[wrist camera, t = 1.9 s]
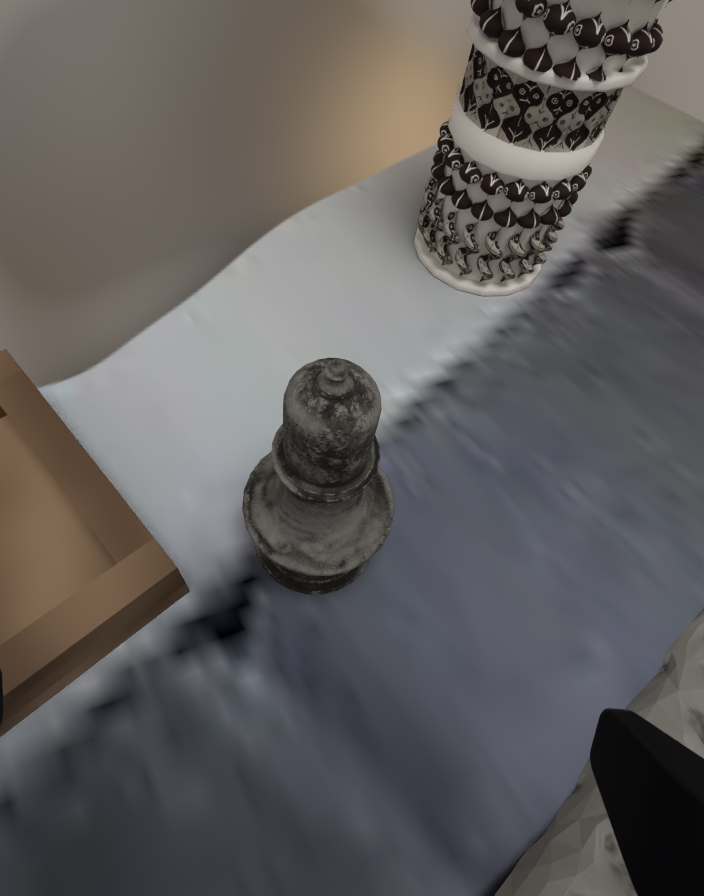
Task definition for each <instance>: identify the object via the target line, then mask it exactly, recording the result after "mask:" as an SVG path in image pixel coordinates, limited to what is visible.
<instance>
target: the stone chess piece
mask: <svg viewBox="0 0 704 896" xmlns="http://www.w3.org/2000/svg"><path fill="white" fill-rule="evenodd" d="M380 414H381V397H380V392H379V389H378V387H377V384H376V382H375V381H374V380H373V378H372V377H371V376H370V375H369V374H368V373H367V372H366V371H365V370H364V369H362V368H361V367H360V366H358V365H356V364H354V363H352V362H350V361H347V360H344V359H340V358H325V359H319V360H317V361H314V362H312V363H309V364H307V365H305V366H303V367H302V368H301V369H299V370H298V371H297V372H296V373H295V374H294V375H293V377H292V378H291V379H290V381H289V384H288V386H287V389H286V391H285V394H284V402H283V424H282V425H281V427H280V428H279V429H278V431H277V432H276V435H275V437H274V440H273V443H272V452H270V453H269V454H268V455H266V456H265V457H264V458H263V459H261V461H260V462H259V463H258V465H257V466H256V467H255V469H254V470H253V471H252V473H251V474H250V477H249V479H248V482H247V484H246V487H245V489H244V498H243V514H244V518H245V523H246V528H247V530H248V532H249V534H250V536H251V537H252V539H253V541H254V543H255V545H256V549H257V554H258V557H259V559H260V561H261V563H262V565H263V567H264V569H265V570H266V571H267V572H268V573H269V574H270V575H271V576H272V577H273V578H274V580H275V581H277V582H278V583H280V584H282V585H283V586H285V587H287V588H288V589H290V590H293V591H297V592H301V593H304V594H325V593H329V592H333V591H337V590H339V589H341V588H343V587H345V586H346V585H348V584H350V583H352V582H353V581H354V580H355V579H356V578H357V577H358V576H359V575H360V574H361V573H362V572H363V570H364V569H365V567H366V565H367V563H368V561H369V560H370V558H371V557H372V556H373V555H374V554H375V553H376V552H377V551H378V550H379V549H380V548H381V546H382V545H383V543H384V541H385V539H386V537H387V536H388V534H389V532H390V530H391V525H392V521H393V516H394V499H393V493H392V490H391V487H390V484H389V481H388V479H387V477H386V475H385V474H384V472H383V471H382V469H381V468H380V467H379V462H380V450H379V445H378V442H377V439H376V436H375V433H376V429H377V425H378V422H379V418H380Z"/></svg>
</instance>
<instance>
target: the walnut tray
mask: <svg viewBox="0 0 704 896" xmlns="http://www.w3.org/2000/svg"><path fill="white" fill-rule="evenodd" d="M188 592H189V589H188V587H187V585H186V583H185V581H184V579H183V578H182V576H181V574H180V572H179V570H178V568H177V567H176V566H175V564H174V563H173V562H172V560H171V559H170V558H169V557H168V555H167V554H166V553H165V551H164V550H163V549H162V548H161V546H160V545H159V544H158V543H157V541H156V540H155V539H154V537H153V536H152V535H151V534H150V532H149V531H148V530H147V529H146V527H145V526H144V525H143V523H142V522H141V521H140V520H139V518H138V517H137V516H136V514H135V513H134V512H133V511H132V509H131V508H130V507H129V506H128V504H127V503H126V502H125V500H124V499H123V498H122V497H121V495H120V494H119V493H118V491H117V490H116V489H115V488H114V486H113V485H112V484H111V483H110V481H109V480H108V479H107V477H106V476H105V475H104V474H103V472H102V471H101V470H100V469H99V467H98V466H97V465H96V463H95V462H94V461H93V460H92V458H91V457H90V456H89V454H88V453H87V452H86V451H85V449H84V448H83V447H82V446H81V444H80V443H79V442H78V440H77V439H76V438H75V437H74V435H73V434H72V433H71V431H70V430H69V429H68V428H67V426H66V425H65V424H64V423H63V421H62V420H61V419H60V417H59V416H58V415H57V414H56V412H55V411H54V410H53V409H52V407H51V406H50V405H49V403H48V402H47V401H46V400H45V398H44V397H43V396H42V394H41V393H40V392H39V391H38V389H37V388H36V387H35V386H34V384H33V383H32V382H31V380H30V379H29V378H28V377H27V375H26V374H25V373H24V371H23V370H22V369H21V368H20V366H19V365H18V364H17V363H16V361H15V360H14V359H13V357H12V356H11V355H10V354H9V352H8V351H7V350H6V349H5V350H3V351H0V668H1V670H2V680H3V701H4V716H3V721H2V724H1V727H0V736H2V735H3V734H4V733H6V732H7V731H8V730H10V729H11V728H12V727H13V726H15V725H16V724H17V723H19V722H20V721H21V720H23V719H24V718H25V717H26V716H28V715H29V714H30V713H32V712H33V711H34V710H36V709H37V708H38V707H39V706H41V705H42V704H43V703H45V702H46V701H47V700H49V699H50V698H51V697H52V696H54V695H55V694H56V693H58V692H59V691H60V690H62V689H63V688H64V687H65V686H67V685H68V684H69V683H71V682H72V681H73V680H75V679H76V678H77V677H78V676H80V675H81V674H82V673H84V672H85V671H86V670H88V669H89V668H90V667H91V666H93V665H94V664H95V663H97V662H98V661H99V660H101V659H102V658H103V657H104V656H106V655H107V654H108V653H110V652H111V651H112V650H114V649H115V648H116V647H117V646H119V645H120V644H121V643H123V642H124V641H125V640H127V639H128V638H129V637H130V636H132V635H133V634H134V633H136V632H137V631H138V630H140V629H141V628H142V627H143V626H145V625H146V624H147V623H149V622H150V621H151V620H153V619H154V618H155V617H156V616H158V615H159V614H160V613H162V612H163V611H164V610H166V609H167V608H168V607H169V606H171V605H172V604H173V603H175V602H176V601H177V600H179V599H180V598H181V597H182V596H184V595H185V594H186V593H188Z"/></svg>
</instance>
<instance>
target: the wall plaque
mask: <svg viewBox="0 0 704 896" xmlns="http://www.w3.org/2000/svg"><path fill="white" fill-rule="evenodd" d="M625 710H631V711H633V712H635V713H636V714H638V715H639V716H641V717H642V718H644V719H645V720H647V721H648V722H650V723H651V724H653V725H654V726H656V727H657V728H659V729H660V730H662V731H663V732H665V733H666V734H668V735H669V736H671V737H672V738H674V739H675V740H677V741H678V742H680V743H681V744H683V745H684V746H686V747H687V748H689V749H690V750H692V751H693V752H695V753H696V754H698V755H699V756H701V757H702V758H704V610H703V611H702V612H700V614H699V615H698V616H697V617H696V618H695V619H694V620H693V621H692V622H691V624H690V625H689V626H688V627H687V628H686V629H685V631H684V632H683V633H682V634H681V635H680V636H679V637H678V639H677V640H676V641H675V642H674V643H673V644H672V645H671V647H670V648H669V649H668V651H667V652H666V653H665V656H664V661H663V665H662V668H661V669H660V671H659V673H658V674H657V675H656V676H655V677H654V678H653V679H652V680H651V681H650V682H649V683H648V684H647V686H646V687H645V688H644V689H643V690H642V691H641V692H640V693H639V694H638V695H637V696H636V697H635V698H634V699H633V700H632V701H631V703H630V704H629V705H628V706H627V707H626V709H625ZM494 896H637V893H636V891H635V889H634V886H633V884H632V882H631V879H630V877H629V874H628V871H627V869H626V866H625V863H624V861H623V858H622V855H621V852H620V849H619V846H618V843H617V841H616V838H615V835H614V832H613V829H612V826H611V823H610V821H609V818H608V815H607V812H606V809H605V806H604V803H603V800H602V798H601V795H600V792H599V789H598V786H597V783H596V780H595V777H594V775H593V772H592V768H591V763H590V758H589V760H588V762H587V763H586V765H585V767H584V768H583V770H582V773H581V775H580V777H579V779H578V782H577V785H576V788H575V791H574V792H573V793H572V794H571V795H570V796H569V797H568V798H567V800H566V801H565V802H564V804H563V805H562V806H561V808H560V809H559V810H558V812H557V813H556V815H555V818H554V820H553V821H552V823H551V824H550V826H549V827H548V829H547V830H546V832H545V833H544V835H543V836H542V837H541V838H539V839H538V840H537V841H536V842H535V843H534V844H533V845H532V846H531V847H530V848H529V849H528V850H527V851H526V852H525V853H524V855H523V856H522V857H521V858H520V860H519V861H518V863H517V864H516V866H515V868H514V869H513V871H512V872H511V874H510V875H509V876H508V878H507V879H506V880H505V882H504V883H503V884H502V886H501V887H500V888H499V890H498V891H497V892H496V894H495V895H494Z"/></svg>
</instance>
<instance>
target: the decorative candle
mask: <svg viewBox="0 0 704 896" xmlns="http://www.w3.org/2000/svg"><path fill="white" fill-rule="evenodd" d="M664 1H665V0H471V8H472V13H471V16H470V19H469V23H468V27H467V32H468V34H469V36H470V37H471V39H472V41H473V45H472V49H471V53H470V56H469V60H468V64H467V68H466V72H465V76H464V79H463V82H462V83H461V84H459V86H458V90H457V94H456V98H455V101H454V105H453V109H452V113H451V117H450V119H449V121H447V122H445V123H443V124H442V126H441V128H440V136H441V137H440V138H439V139H438V148H439V150H438V151H437V152H436V153H435V154H434V158H433V160H434V163H435V164H434V165H433V166H432V168H431V173H432V176H431V177H430V178H429V179H428V181H427V183H426V187H425V194H424V198H423V203H422V205H421V208H420V216H419V218H418V229H417V232H416V236H415V240H414V245H415V248H416V251H417V254H418V258H419V260H420V261H421V262H422V264H423V265H424V266H425V267H426V268H427V269H428V270H429V271H430V272H431V274H432V275H433V276H434V277H436V278H438V279H439V280H441V281H443V282H445V283H446V284H448V285H450V286H451V287H453V288H455V289H457V290H461V291H464V292H468V293H472V294H476V295H480V296H505V295H510V294H513V293H515V292H518V291H520V290H523V289H525V288H528V286H529V285H530V284H531V283H532V282H533V280H534V279H535V278H536V277H537V276H538V274H539V273H540V271H541V264H543V263H545V262H546V256H545V255H544V253H543V251H551V250H552V248H553V245H552V243H555V242H556V241H557V239H558V235H557V234H556V232H555V231H556V230H562V229H563V227H564V221H563V220H562V218H561V217H565V216H567V215H568V214H570V212H571V211H572V205H573V204H574V203H575V202H576V201H577V198H578V193H577V191H580V190H581V189H582V188H583V187H584V186H585V184H586V179H587V178H588V177H589V176H590V174H591V172H592V167H591V165H590V162H591V161H592V159H593V157H594V155H595V153H596V151H597V149H598V147H599V145H600V143H601V141H602V139H603V137H604V128H605V124H606V122H607V120H608V118H609V116H610V115H611V113H612V111H613V109H614V107H615V105H616V103H617V101H618V99H619V97H620V94H621V92H622V90H623V88H624V87H627V86H631V85H632V84H633V83H634V82H635V81H636V80H637V79H638V78H639V76H641V74H643V72H644V70H645V68H646V66H647V62H648V61H647V54H648V53H652V52H654V51H656V50H657V49H658V48H659V47H660V45H661V43H662V41H663V37H662V33H663V32H662V29H661V26H660V25H659V24H658V22H657V21H658V19H657V20H656V17H657V15H658V13H659V11H660V9H661V7H662V5H663V3H664ZM670 1H672V0H669V1H668V3H669V2H670ZM443 161H444V162H443Z"/></svg>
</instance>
